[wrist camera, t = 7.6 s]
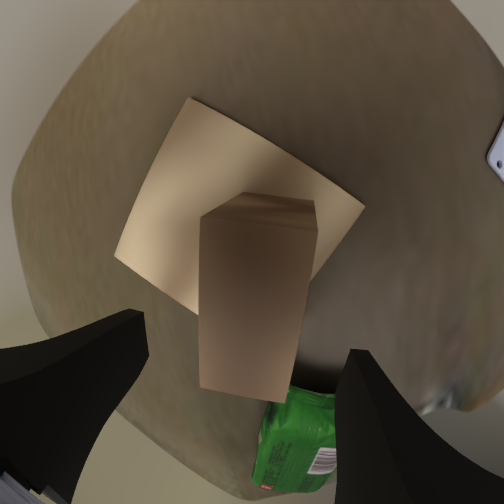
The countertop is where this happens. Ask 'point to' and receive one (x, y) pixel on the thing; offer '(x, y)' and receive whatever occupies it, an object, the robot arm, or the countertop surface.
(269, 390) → the slab
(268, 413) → the snack package
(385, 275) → the countertop surface
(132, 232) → the plate
